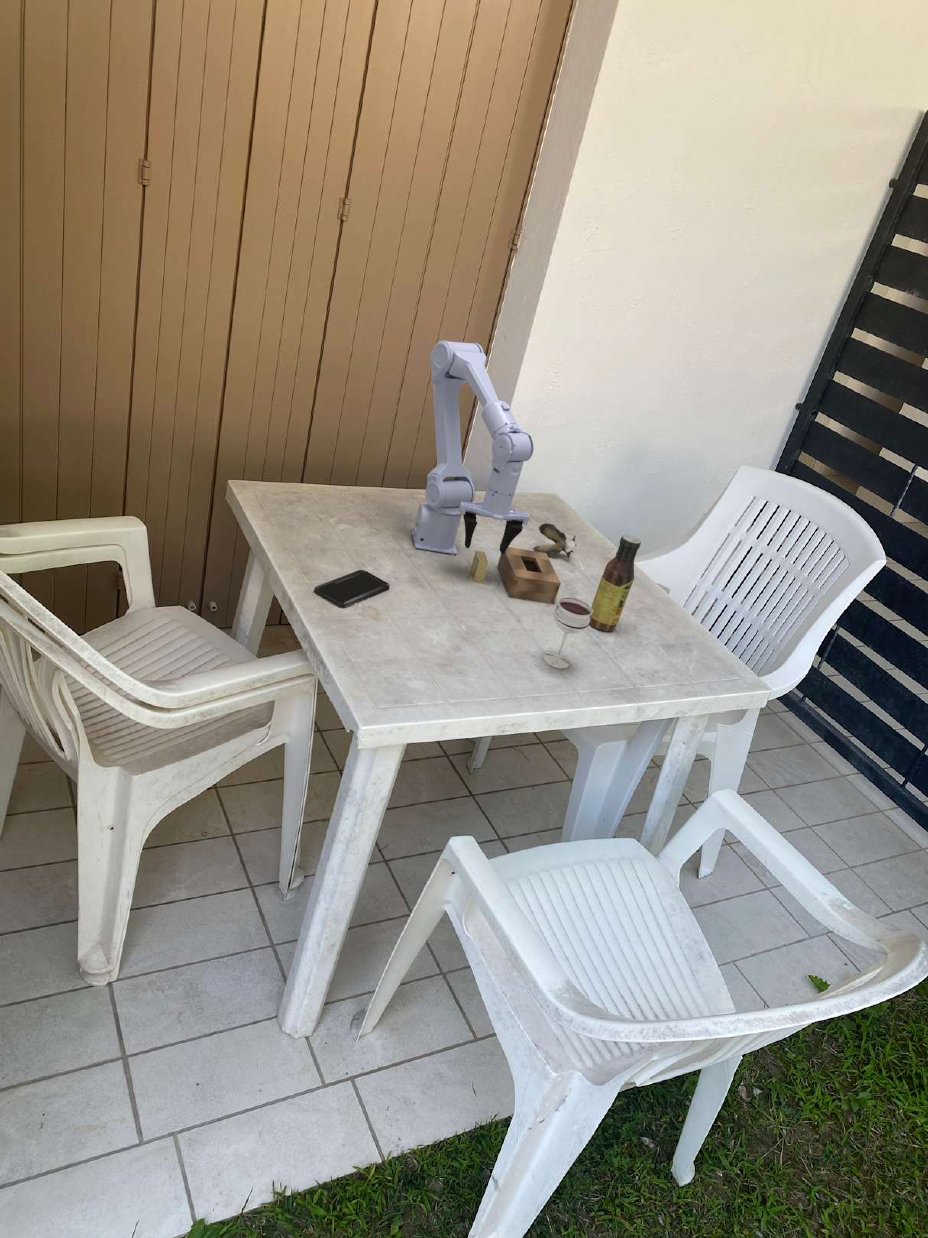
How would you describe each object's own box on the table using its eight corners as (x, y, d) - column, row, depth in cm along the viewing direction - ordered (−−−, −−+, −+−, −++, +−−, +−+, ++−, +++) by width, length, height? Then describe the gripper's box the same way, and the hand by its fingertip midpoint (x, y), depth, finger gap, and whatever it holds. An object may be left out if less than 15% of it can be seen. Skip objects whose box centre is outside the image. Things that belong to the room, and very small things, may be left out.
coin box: (508, 597, 194) (515, 576, 191) (497, 566, 205) (503, 545, 203) (553, 603, 196) (560, 583, 194) (539, 572, 208) (546, 553, 205)
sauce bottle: (614, 636, 190) (646, 550, 181) (585, 626, 190) (616, 540, 181) (616, 622, 196) (647, 538, 186) (587, 613, 196) (617, 528, 187)
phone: (392, 585, 184) (343, 605, 172) (391, 590, 184) (342, 611, 172) (361, 568, 187) (311, 587, 175) (360, 573, 187) (310, 592, 175)
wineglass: (544, 646, 179) (563, 593, 173) (577, 660, 177) (597, 606, 172) (534, 661, 173) (553, 606, 167) (568, 675, 172) (588, 620, 166)
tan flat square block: (473, 582, 196) (479, 561, 193) (469, 571, 200) (475, 550, 198) (482, 583, 196) (488, 562, 194) (478, 572, 200) (484, 552, 198)
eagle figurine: (568, 543, 224) (534, 529, 222) (582, 529, 218) (548, 515, 216) (563, 569, 220) (529, 555, 218) (577, 555, 214) (542, 541, 212)
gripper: (469, 491, 183) (453, 552, 190) (538, 503, 187) (520, 562, 193) (464, 477, 189) (449, 537, 196) (531, 489, 193) (514, 547, 199)
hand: (484, 548), depth 195 cm, fingers open, 7 cm apart
